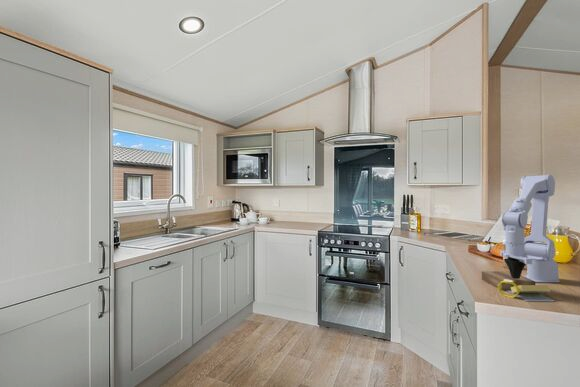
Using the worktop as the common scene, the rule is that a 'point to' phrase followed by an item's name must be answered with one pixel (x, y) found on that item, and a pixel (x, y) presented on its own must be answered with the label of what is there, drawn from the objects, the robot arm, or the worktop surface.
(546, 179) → the robot arm
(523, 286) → the yellow butter block
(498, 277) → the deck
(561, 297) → the worktop surface
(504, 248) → the sprinkles bottle
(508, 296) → the watch
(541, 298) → the mat
